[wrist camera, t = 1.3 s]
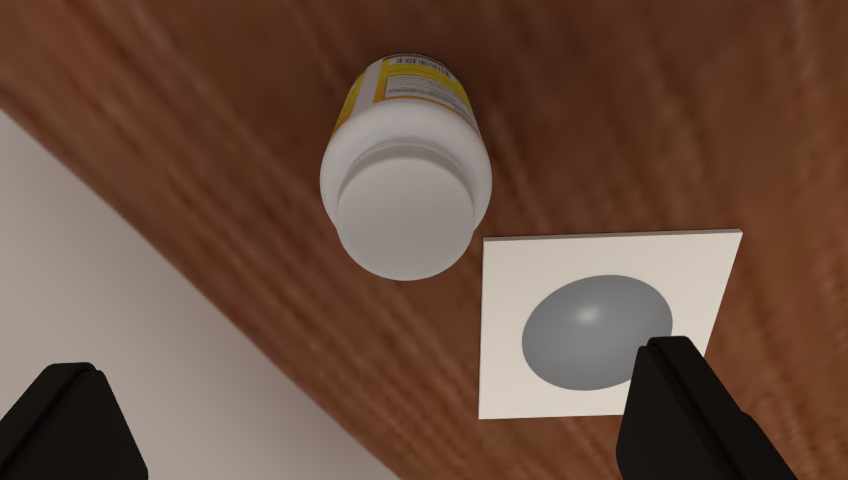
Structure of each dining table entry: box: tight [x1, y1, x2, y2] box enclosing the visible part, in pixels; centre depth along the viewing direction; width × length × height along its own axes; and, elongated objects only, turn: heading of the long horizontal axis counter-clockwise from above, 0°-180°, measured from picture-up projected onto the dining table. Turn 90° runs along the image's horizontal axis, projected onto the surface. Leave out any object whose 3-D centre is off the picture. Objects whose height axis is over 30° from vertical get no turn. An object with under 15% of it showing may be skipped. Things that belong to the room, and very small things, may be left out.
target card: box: [478, 229, 743, 419], centre depth 30 cm, size 13×13×1 cm
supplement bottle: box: [320, 54, 492, 281], centre depth 19 cm, size 6×6×10 cm
